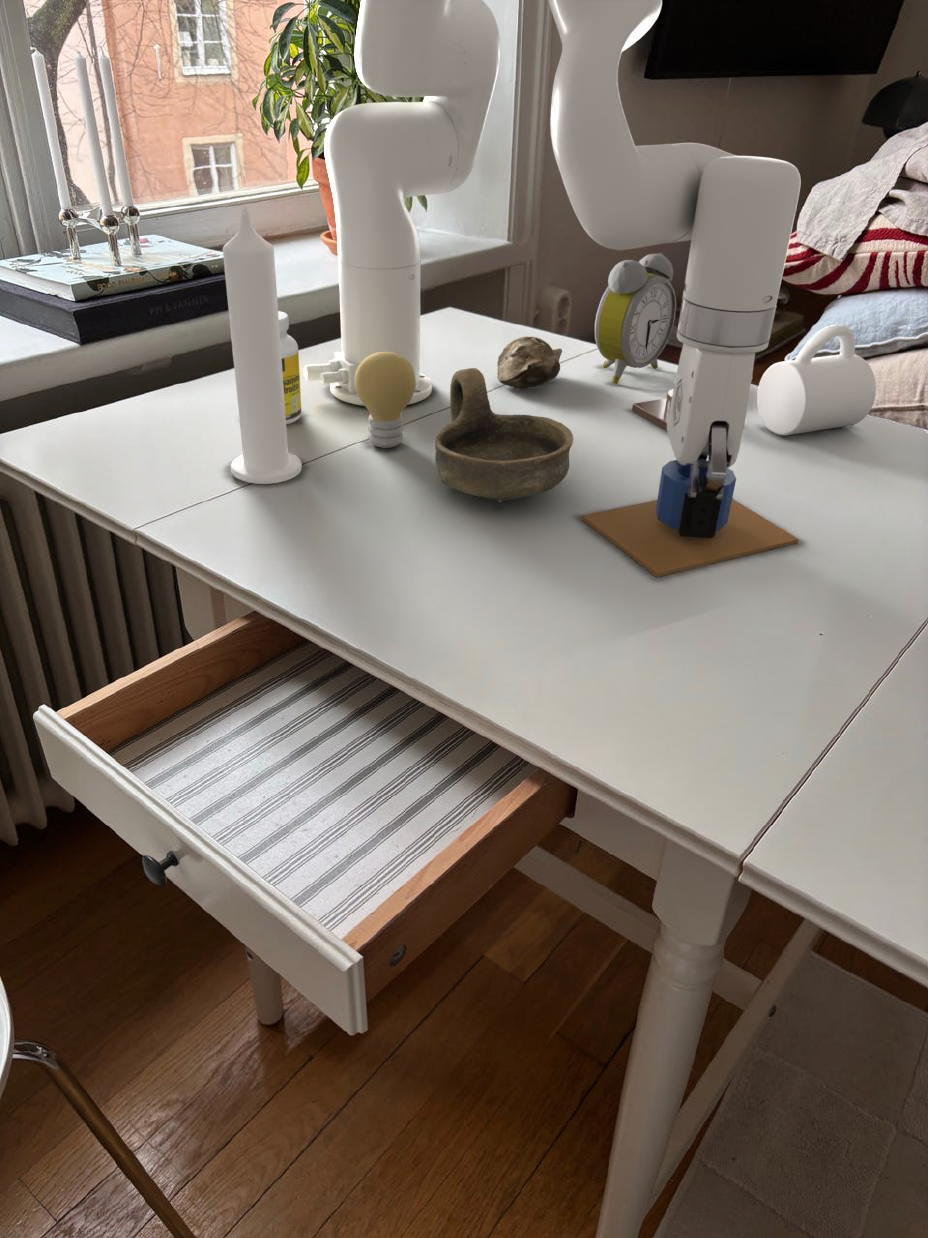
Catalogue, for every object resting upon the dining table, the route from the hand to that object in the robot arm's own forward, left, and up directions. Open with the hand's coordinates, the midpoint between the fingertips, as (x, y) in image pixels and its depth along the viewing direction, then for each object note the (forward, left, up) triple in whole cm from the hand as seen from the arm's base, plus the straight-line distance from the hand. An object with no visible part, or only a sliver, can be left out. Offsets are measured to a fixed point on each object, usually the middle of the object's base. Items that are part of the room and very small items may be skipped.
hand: (690, 516), depth 89 cm
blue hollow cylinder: (0, 0, 0) cm, 0 cm away
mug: (+30, +16, -2) cm, 34 cm away
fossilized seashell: (+7, +42, -2) cm, 43 cm away
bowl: (-12, +16, -2) cm, 20 cm away
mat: (0, 0, -1) cm, 1 cm away
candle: (-32, +28, -2) cm, 43 cm away
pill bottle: (-27, +42, -2) cm, 50 cm away
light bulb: (-18, +30, -2) cm, 35 cm away
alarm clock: (+21, +41, -2) cm, 46 cm away
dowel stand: (+18, +24, -1) cm, 30 cm away
